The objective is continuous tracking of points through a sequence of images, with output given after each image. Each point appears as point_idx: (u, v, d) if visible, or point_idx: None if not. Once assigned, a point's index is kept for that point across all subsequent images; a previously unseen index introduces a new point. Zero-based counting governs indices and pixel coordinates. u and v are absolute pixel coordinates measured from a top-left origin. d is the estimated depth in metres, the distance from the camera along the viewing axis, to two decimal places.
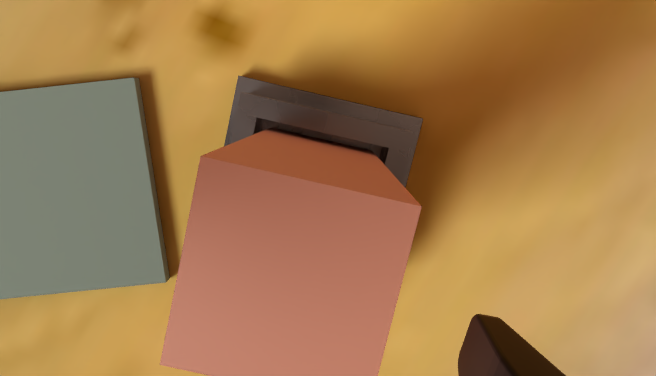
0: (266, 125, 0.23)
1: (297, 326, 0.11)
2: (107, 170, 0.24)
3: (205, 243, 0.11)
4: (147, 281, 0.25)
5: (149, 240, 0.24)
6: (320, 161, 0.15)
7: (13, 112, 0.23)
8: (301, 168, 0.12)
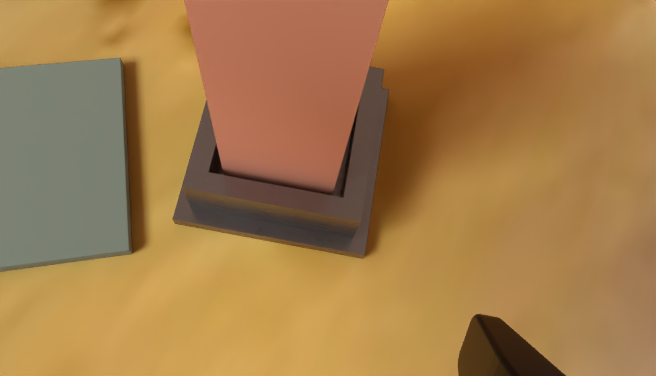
0: None
1: None
2: (80, 137, 0.23)
3: None
4: (107, 250, 0.22)
5: (115, 205, 0.22)
6: None
7: None
8: None
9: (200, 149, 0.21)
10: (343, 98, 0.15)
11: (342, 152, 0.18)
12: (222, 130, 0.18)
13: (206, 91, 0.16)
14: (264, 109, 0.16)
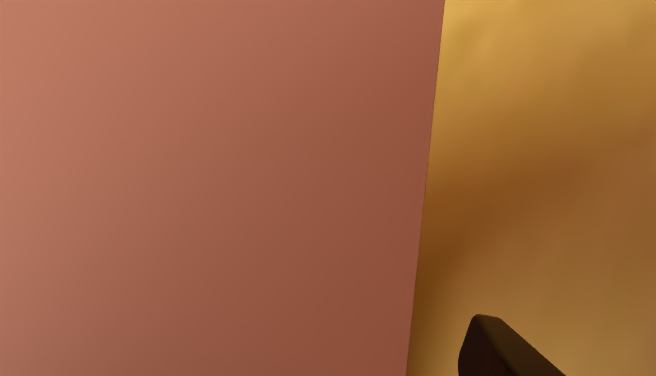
0: None
1: (115, 244, 0.03)
2: None
3: None
4: None
5: None
6: None
7: None
8: None
9: None
10: None
11: None
12: None
13: None
14: None
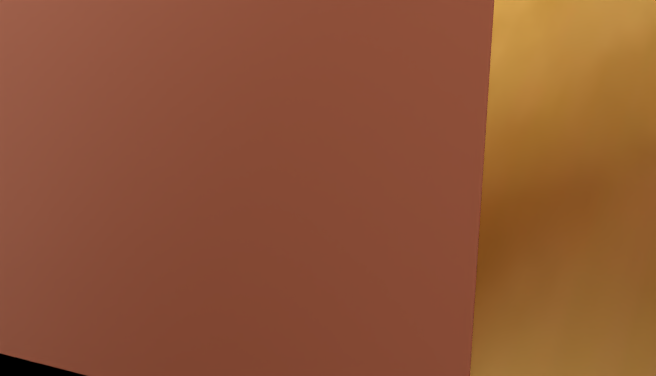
0: None
1: None
2: None
3: None
4: None
5: None
6: None
7: None
8: None
9: None
10: None
11: None
12: None
13: None
14: None
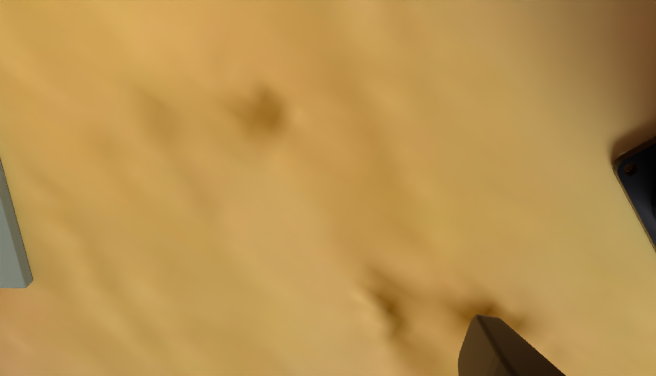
0: None
1: None
2: None
3: None
4: None
5: None
6: None
7: None
8: None
9: None
10: None
11: None
12: None
13: None
14: None
